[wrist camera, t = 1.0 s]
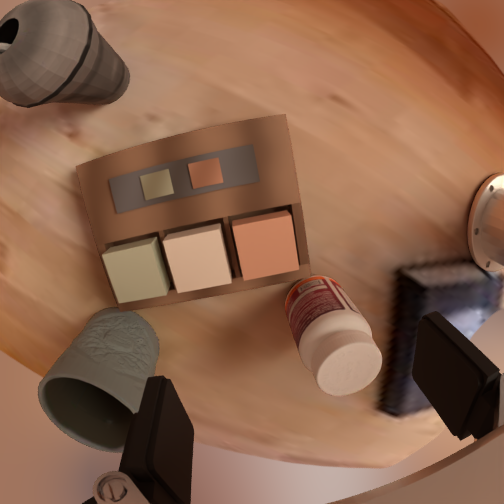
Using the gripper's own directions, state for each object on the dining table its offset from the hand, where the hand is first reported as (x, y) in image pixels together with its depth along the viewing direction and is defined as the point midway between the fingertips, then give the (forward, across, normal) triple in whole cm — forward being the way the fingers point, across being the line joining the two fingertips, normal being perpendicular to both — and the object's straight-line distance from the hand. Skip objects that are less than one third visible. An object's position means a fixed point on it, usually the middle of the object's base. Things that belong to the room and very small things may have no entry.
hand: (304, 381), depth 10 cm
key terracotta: (+17, -1, 0) cm, 17 cm away
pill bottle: (+19, -5, +8) cm, 21 cm away
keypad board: (+19, +5, -3) cm, 20 cm away
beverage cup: (+20, +10, -17) cm, 28 cm away
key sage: (+17, +10, 0) cm, 20 cm away
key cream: (+17, +5, 0) cm, 17 cm away
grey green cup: (+20, +16, +9) cm, 27 cm away
